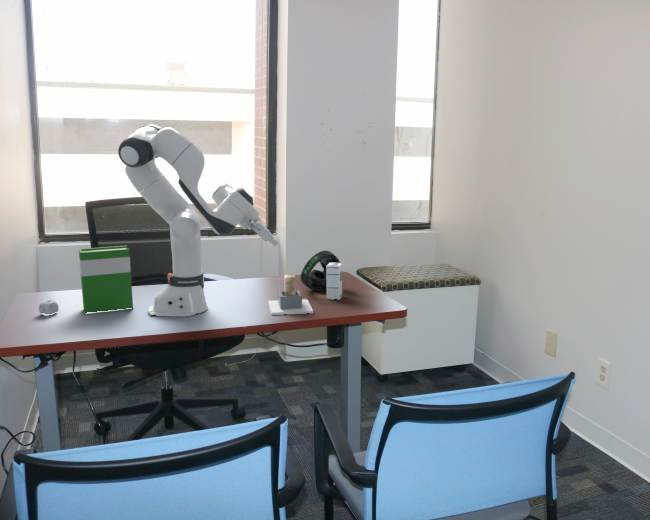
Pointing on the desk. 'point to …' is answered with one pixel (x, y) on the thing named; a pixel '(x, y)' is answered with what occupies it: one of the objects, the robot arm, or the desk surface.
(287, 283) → the peg
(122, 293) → the hardback book
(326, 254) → the headset
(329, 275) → the syrup box
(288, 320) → the desk surface
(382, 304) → the desk surface
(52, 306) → the die
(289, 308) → the socket
